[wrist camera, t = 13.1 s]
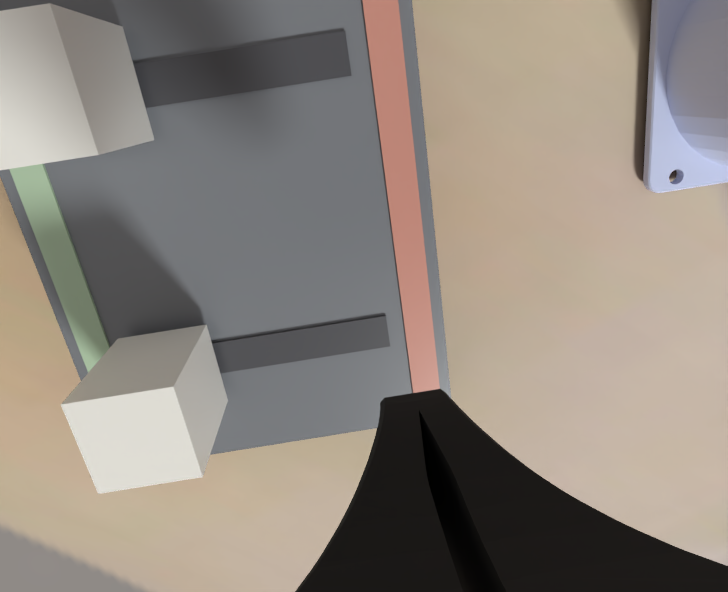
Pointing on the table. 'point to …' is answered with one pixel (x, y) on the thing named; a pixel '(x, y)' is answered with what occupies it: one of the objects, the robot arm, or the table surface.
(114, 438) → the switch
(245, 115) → the panel
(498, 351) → the table surface
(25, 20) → the switch middle
